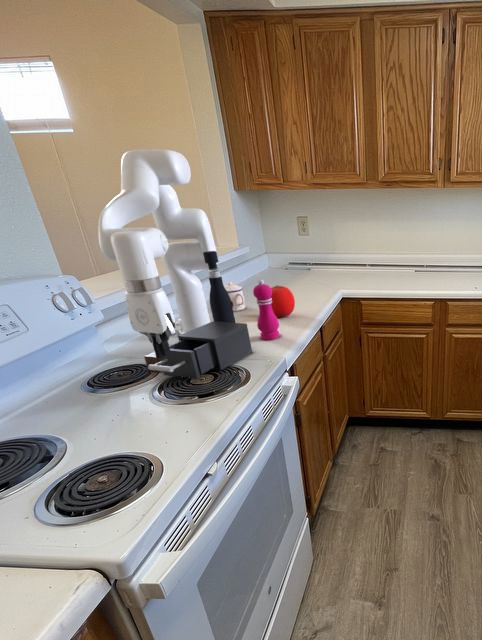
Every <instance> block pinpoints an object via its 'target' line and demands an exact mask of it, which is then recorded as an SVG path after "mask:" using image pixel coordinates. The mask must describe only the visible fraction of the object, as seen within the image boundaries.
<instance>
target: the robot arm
mask: <svg viewBox="0 0 482 640" xmlns="http://www.w3.org/2000/svg"><path fill="white" fill-rule="evenodd" d="M191 177H192V171H191V167H190V163H189V162H188V160H187V158H186V157H185V155H184V154H182V153H181V152H178V151H175V150H171V149H132V150H127V151H126V152H125V153H123V155H122V156H121V162H120V193H119V194H118V195H116V196H115V197H114V198H113V199H112V200H111V201H110V202H109V203H108V204H106V206H104V208H103V209H102V211H101V212H100V215H99V218H98V229H97V231H98V233H97V234H98V236H97V237H98V244H99V245H98V246H99V248H100V252H102V254H103V255H104V256H105V258H107V259H108V260H111V261H115V262H117V265H118V269H119V272H120V275H121V279H122V282H123V285H124V288H125V292H124V298H125V299H124V300H125V307H126V311H127V314H128V319H129V323H130V326H131V328H132V330H133V331H135V332H138V333H139V334H142V335H144V336H146V337H147V338H148V341H149V342H150V343H151V344H152V347H153V352H155V354H156V357H157V358H164V357H166V356H168V355H170V354H171V351H170V348H169V345H170V344H169V340H170V337H173V336H175V335H176V334H177V332H176V330H175V328H176V326H179V327H180V329H179V330H178V333H179V335H181V334H184V333H186V332H188V331H191V330H193V329H196V328H198V327H201V326H203V325H205V324H208V323H210V322H211V318H210V314H209V313H210V312H209V309H208V305H207V301H206V296H205V292H204V287H203V283H202V281H201V279H200V278H199V277H198V276H196V274H195V273H193V272H194V271H200V270H201V271H203V270H209V267H208V264H206V263H205V260H204V255H203V252H208V251H216V252H217V253H218V251H217V247H216V242H215V240H214V235H213V230H212V227H211V224H210V220H209V217H208V216H207V214H206V212H205V211H204V210H203V209H201V208H198V207H189V208H184V207H181V205H180V201H179V197H178V195H177V192H176V190H175V189H174V188H173V185H174V186H178V185H179V186H180V185H181V186H182V185H184V186H185V185H188V184H189V183H190V182H191ZM150 214H152V217H153V220H154V223H155V227H153V226H146V227H145V226H143V227H142V226H141V227H125V226H126V225H128V224H129V223H132V222H134V221H136V220H139V219H141V218H143V217H147V216H149V215H150ZM168 240H169V241H172V240H173V241H174V240H175V241H176V240H179V241H177V242H170V243H169V241H168ZM180 240H196V241H180ZM217 257H218V258H219V256H218V254H217ZM156 259H161V260H162V263H163V265H164V268H165V270H166V272H167V274H168V278H169V281H170V284H171V287H172V291H173V295H174V299H175V303H176V307H177V311H178V314H179V318H178V319H177V320H176V319H175V316H174V312H173V309H172V306H171V303H170V300H169V298H168V296H167V293H166V292H165V289H163V285H162V282H161V279H160V275H159V271H158V267H157V264H156V261H155V260H156ZM218 265H219V262H218V263H217V266H218ZM192 271H193V272H192Z"/></svg>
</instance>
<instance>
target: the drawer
mask: <svg viewBox="0 0 482 640" xmlns="http://www.w3.org/2000/svg"><path fill="white" fill-rule="evenodd" d="M169 348H170V351H171V354H170V355H168V356H166V357H164V358H159V360H160V362H158V363H156V364H154V365H153V364H150V365H149V366H148V368H147V370H148V369H150V370H157V371H161V372H162V373H163V376H166V377H174V378H176V377H175V376H183V377H190V378H189V379H190V380H199V379H201V375H203V374H205V373H207V372H209V371H211V370H210V369H212V368H214V367H216V366H218V364H217V360H216V355H215V351H214V347H213V343H212V341H201V340H190V339H183V340H181V341H179V340H178V341H176V342H174V343H171V344H169ZM157 371H156V372H157ZM183 377H180V378H181V379H182V378H183ZM192 378H193V379H192ZM183 379H184V378H183Z"/></svg>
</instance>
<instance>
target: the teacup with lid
mask: <svg viewBox="0 0 482 640" xmlns="http://www.w3.org/2000/svg"><path fill="white" fill-rule="evenodd" d="M224 287H225V289H226V291H227V292H228V294H229V297H230V299H231V303H232V308H233V312H239V311H242V310H245V309H246V304H245V303H246V298H245V296H244V292H243V287H242V286H240V285H237V284H233V282H232V281H228V282H227V284H226V285H224Z"/></svg>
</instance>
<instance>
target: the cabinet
mask: <svg viewBox="0 0 482 640" xmlns="http://www.w3.org/2000/svg"><path fill="white" fill-rule="evenodd" d="M177 339H178V341H181V340H183V339H190V340H201V341H212V343H213V347H214V351H215V355H216V360H217V364H218V366H216V367H214V368H213V369H211V370H213V371H220V372H222V371H223V370H225V369H226V368H228V367H230V366H232V365H233V364H235V363H237V362H239V361H241V360H242V359H244V358H246V357H247V356H249V355H251V354H253V348H252V344H251V339H250V333H249V328H248V324H247V323H244V322H243V323H242V322H235V323H230V322H216V321H214V320H212V321H210V323H208V324H205V325H203V326H201V327H198V328H196V329H193V330H191V331H188V332H186V333H184V334H181V335H180V334H179V335H177ZM221 366H222V367H221ZM211 370H210V371H211Z"/></svg>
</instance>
